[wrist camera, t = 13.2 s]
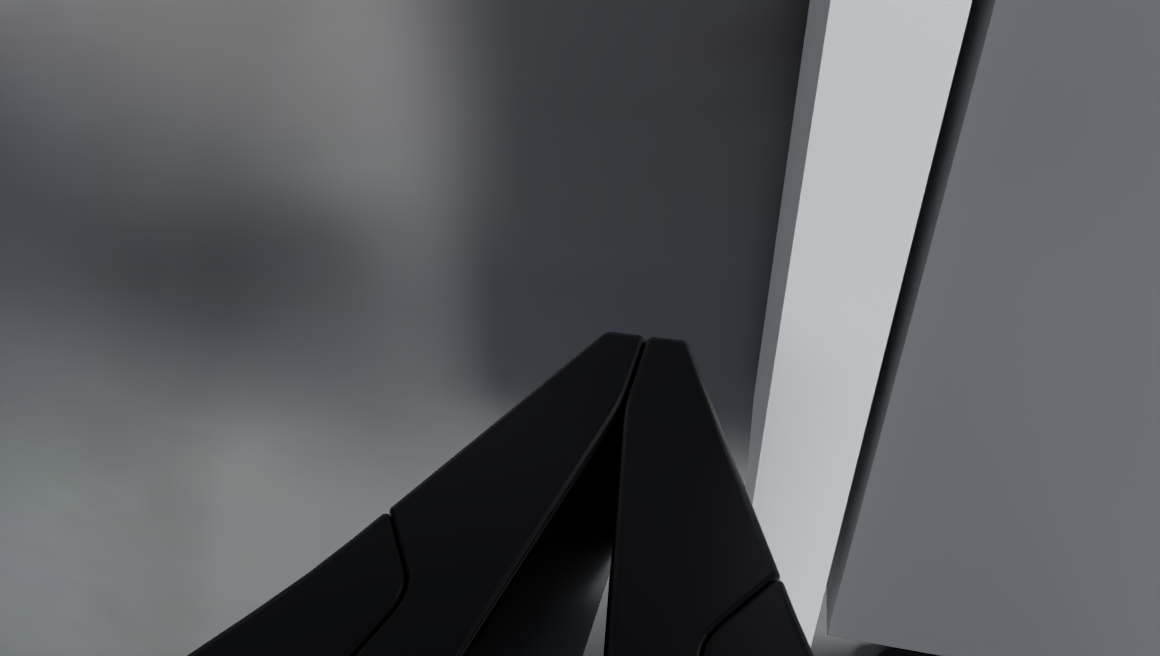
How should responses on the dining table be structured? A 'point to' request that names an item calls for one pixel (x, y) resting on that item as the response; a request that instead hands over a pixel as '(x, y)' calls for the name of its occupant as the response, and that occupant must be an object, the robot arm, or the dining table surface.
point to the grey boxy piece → (841, 263)
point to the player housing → (1022, 358)
